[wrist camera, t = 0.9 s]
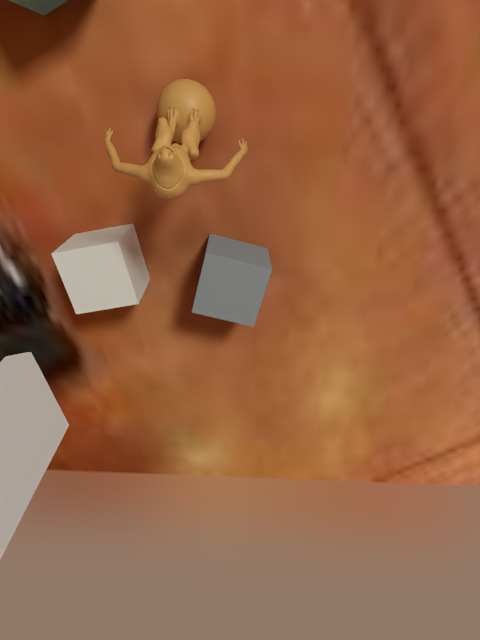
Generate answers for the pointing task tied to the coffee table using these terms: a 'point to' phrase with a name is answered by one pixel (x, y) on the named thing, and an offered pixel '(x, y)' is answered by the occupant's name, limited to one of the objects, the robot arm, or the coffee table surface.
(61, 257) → the cube offwhite
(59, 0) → the cube teal
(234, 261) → the cube slate
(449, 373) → the coffee table surface
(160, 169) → the figurine
